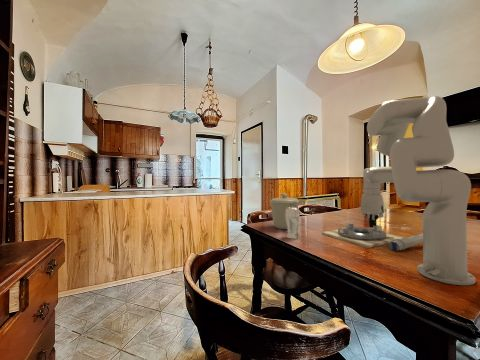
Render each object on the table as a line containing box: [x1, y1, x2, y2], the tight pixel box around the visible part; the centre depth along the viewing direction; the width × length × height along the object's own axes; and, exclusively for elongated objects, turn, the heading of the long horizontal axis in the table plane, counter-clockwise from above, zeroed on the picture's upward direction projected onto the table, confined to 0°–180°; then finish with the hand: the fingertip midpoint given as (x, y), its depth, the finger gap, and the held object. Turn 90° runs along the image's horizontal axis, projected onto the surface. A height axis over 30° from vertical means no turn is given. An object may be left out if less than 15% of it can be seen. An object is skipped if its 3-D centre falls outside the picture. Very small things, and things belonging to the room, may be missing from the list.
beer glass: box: [285, 207, 300, 240], centre depth 110 cm, size 7×7×15 cm
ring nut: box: [337, 222, 387, 240], centre depth 107 cm, size 21×21×4 cm
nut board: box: [321, 229, 406, 249], centre depth 107 cm, size 26×26×1 cm
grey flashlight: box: [388, 233, 423, 252], centre depth 90 cm, size 5×7×25 cm
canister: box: [269, 192, 300, 230], centre depth 131 cm, size 18×18×21 cm
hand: (372, 227), depth 111 cm, fingers closed
